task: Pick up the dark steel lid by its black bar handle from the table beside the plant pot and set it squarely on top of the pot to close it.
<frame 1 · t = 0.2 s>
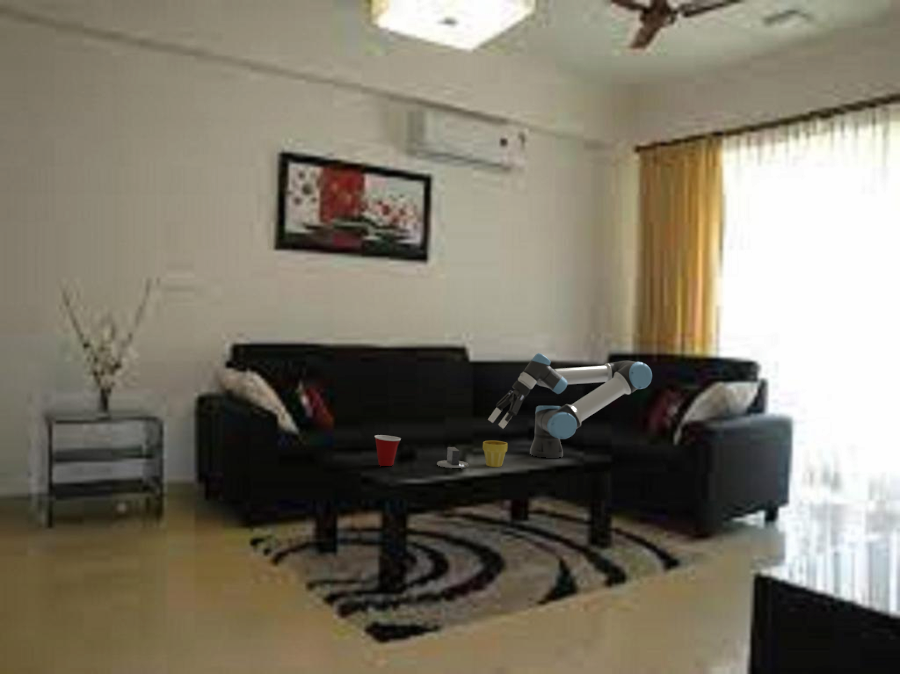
hand: (495, 424, 348), 16 cm above the table, tool tilted 35°, fingers open, 13 cm apart
plastic cup: (386, 466, 327), on the table
plant pot: (494, 466, 338), on the table
steel lid: (452, 466, 334), on the table
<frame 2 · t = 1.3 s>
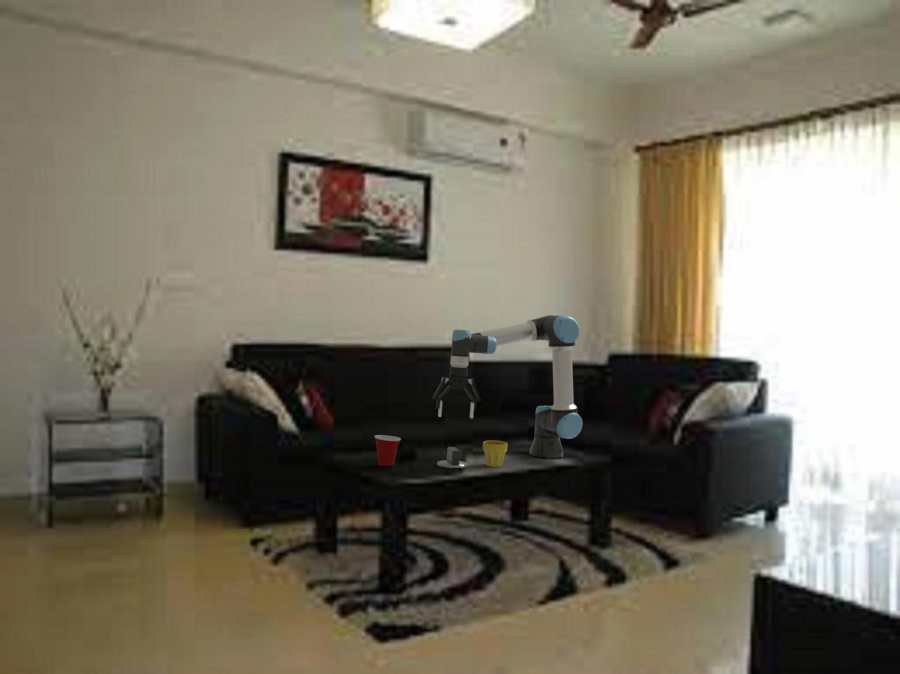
hand: (455, 417, 334), 20 cm above the table, tool pointing down, fingers open, 13 cm apart
nothing on the table moved.
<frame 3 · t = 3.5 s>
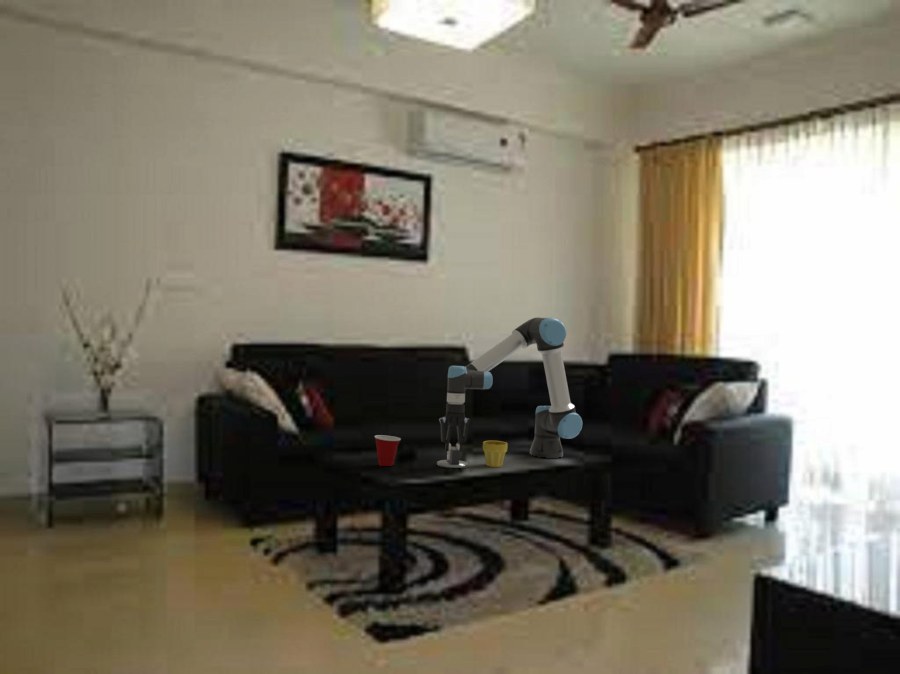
hand: (452, 459, 334), 3 cm above the table, tool pointing down, fingers closed on steel lid, 3 cm apart
steel lid: (452, 465, 334), on the table, touching gripper
everything else where it was.
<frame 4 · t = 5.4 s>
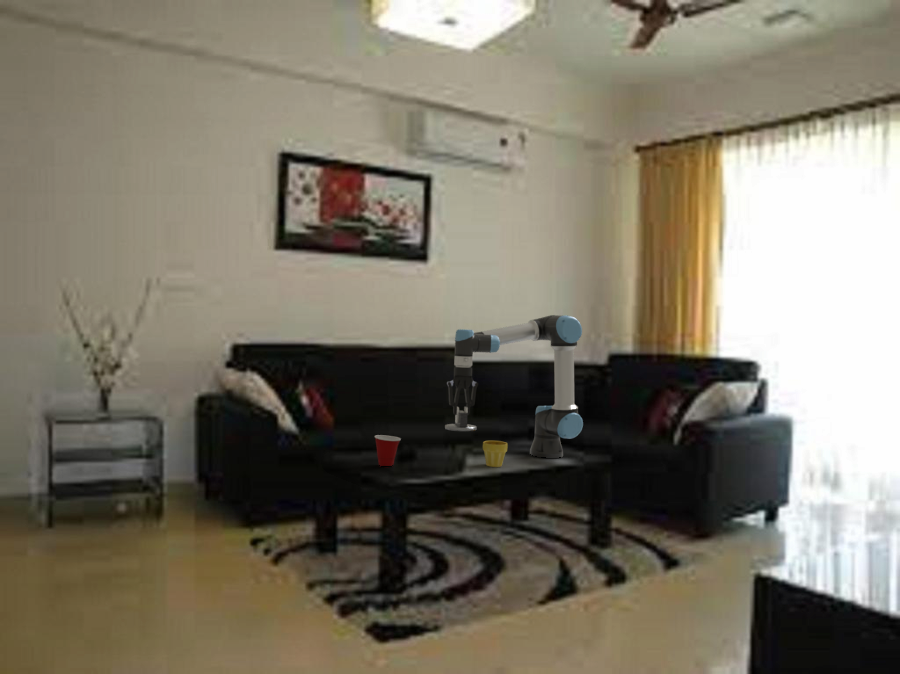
hand: (461, 422, 334), 18 cm above the table, tool pointing down, fingers closed on steel lid, 3 cm apart
steel lid: (460, 428, 334), point 15 cm above the table, touching gripper
everything else where it was.
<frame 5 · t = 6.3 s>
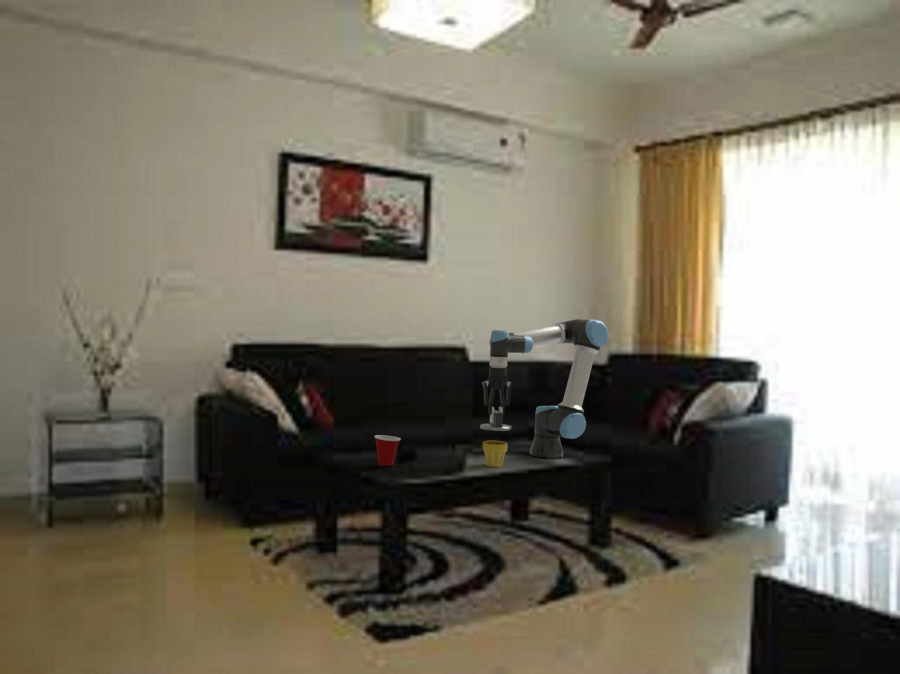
hand: (496, 422, 338), 18 cm above the table, tool pointing down, fingers closed on steel lid, 3 cm apart
steel lid: (495, 428, 338), point 16 cm above the table, touching gripper
everything else where it was.
when the fingers open (15 cm above the table, at t = 7.1 s): steel lid drops 2 cm, resting on plant pot.
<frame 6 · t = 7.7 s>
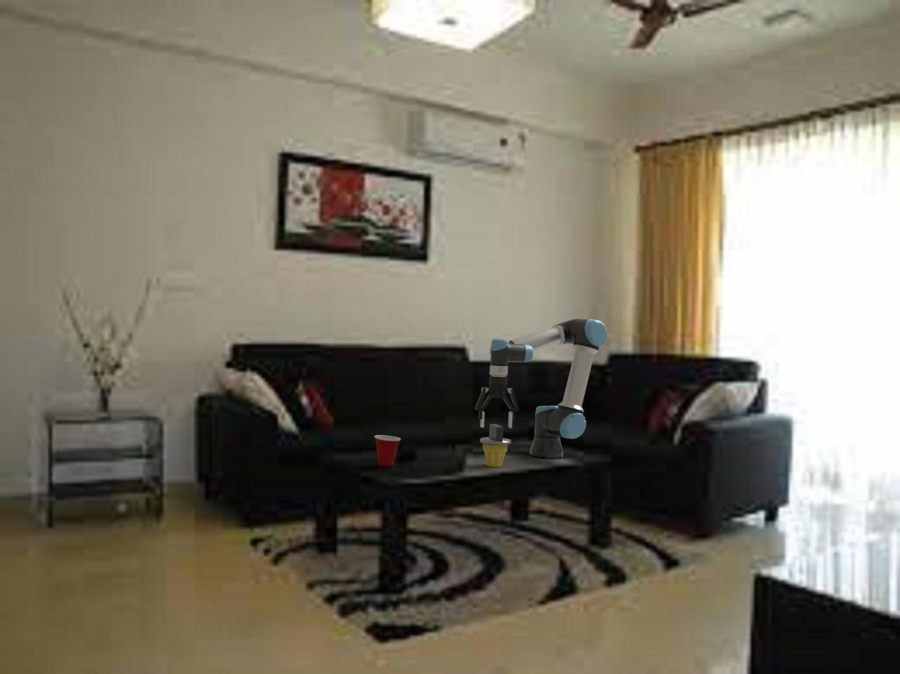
hand: (496, 427, 338), 16 cm above the table, tool pointing down, fingers open, 11 cm apart
plant pot: (494, 466, 338), on the table, touching steel lid
steel lid: (495, 442, 338), point 10 cm above the table, touching plant pot
everything else where it was.
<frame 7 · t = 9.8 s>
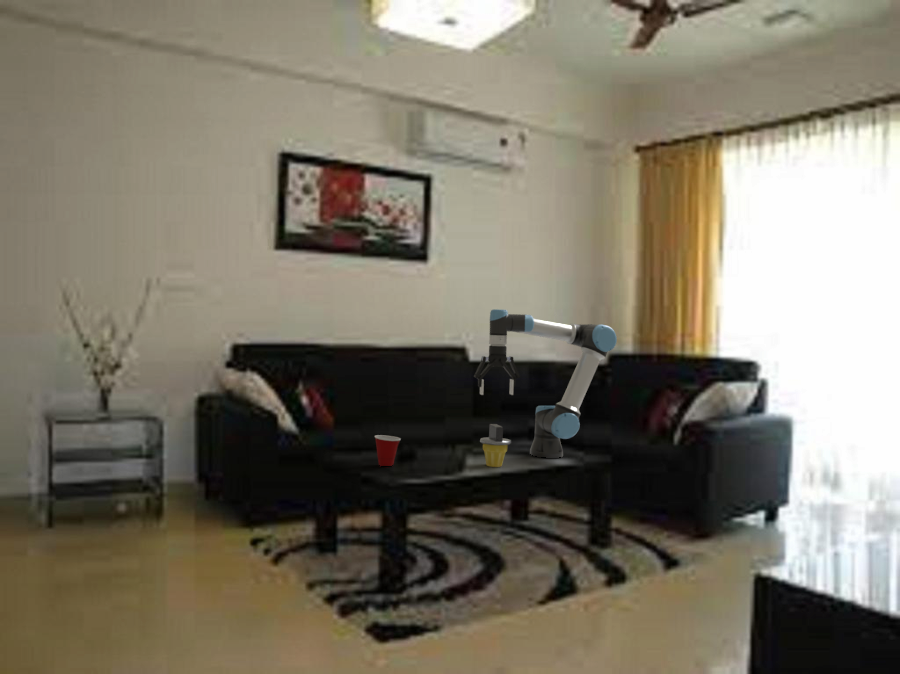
hand: (496, 394, 345), 29 cm above the table, tool pointing down, fingers open, 13 cm apart
nothing on the table moved.
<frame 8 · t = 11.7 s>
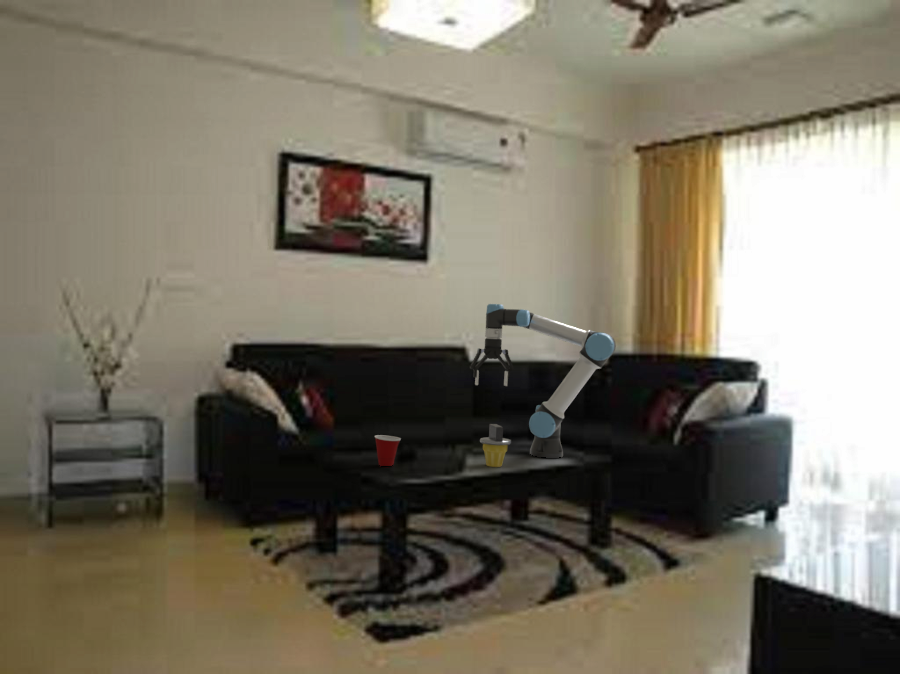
hand: (491, 385, 361), 32 cm above the table, tool pointing down, fingers open, 13 cm apart
nothing on the table moved.
at the end: steel lid 0.1 cm off-centre on the plant pot, point 10.0 cm above the plant pot's base; steel lid tilted 0°; the gripper is holding nothing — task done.
